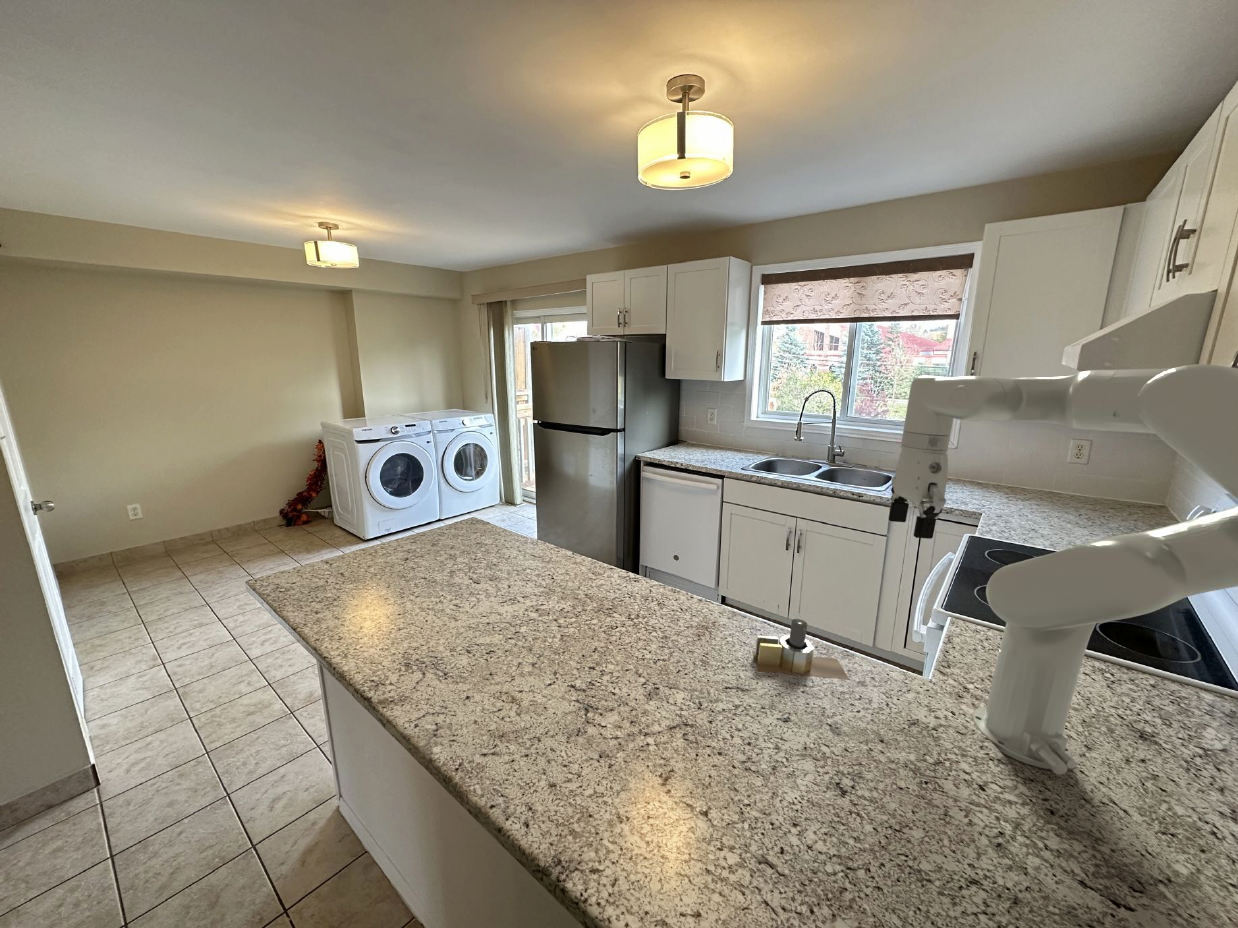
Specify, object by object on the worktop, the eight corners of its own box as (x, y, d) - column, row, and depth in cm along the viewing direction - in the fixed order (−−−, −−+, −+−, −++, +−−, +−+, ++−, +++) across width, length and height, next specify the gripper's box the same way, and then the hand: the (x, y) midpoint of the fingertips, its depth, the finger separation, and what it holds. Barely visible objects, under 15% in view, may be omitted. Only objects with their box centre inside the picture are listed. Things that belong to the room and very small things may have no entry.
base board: (848, 682, 91) (849, 679, 90) (757, 674, 92) (758, 670, 92) (836, 662, 97) (836, 658, 97) (751, 654, 98) (751, 651, 98)
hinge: (813, 674, 91) (817, 653, 90) (759, 669, 92) (762, 648, 91) (804, 656, 97) (807, 636, 96) (753, 651, 98) (755, 631, 97)
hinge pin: (803, 669, 93) (809, 627, 91) (788, 668, 93) (794, 625, 91) (799, 660, 96) (804, 619, 94) (784, 659, 96) (790, 618, 94)
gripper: (975, 451, 81) (956, 546, 85) (920, 437, 98) (906, 517, 102) (929, 448, 82) (912, 543, 85) (882, 435, 99) (870, 514, 102)
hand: (909, 529), depth 93 cm, fingers open, 9 cm apart
